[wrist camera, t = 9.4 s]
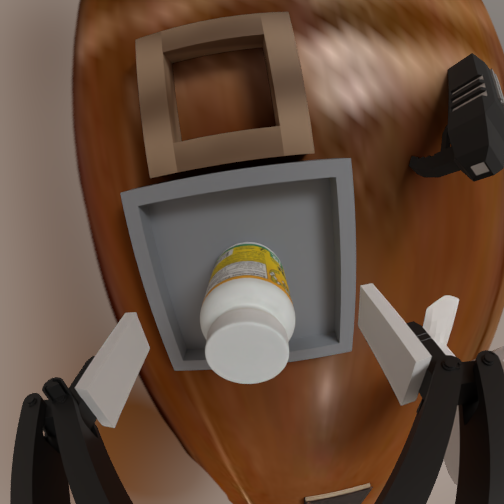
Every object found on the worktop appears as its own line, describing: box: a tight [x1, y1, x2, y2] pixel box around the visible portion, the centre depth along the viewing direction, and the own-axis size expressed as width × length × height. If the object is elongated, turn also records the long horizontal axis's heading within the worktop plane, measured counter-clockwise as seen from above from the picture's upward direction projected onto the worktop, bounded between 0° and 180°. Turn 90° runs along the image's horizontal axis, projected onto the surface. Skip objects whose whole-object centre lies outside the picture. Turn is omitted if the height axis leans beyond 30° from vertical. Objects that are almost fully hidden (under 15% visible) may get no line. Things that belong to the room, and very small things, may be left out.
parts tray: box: [120, 158, 356, 371], centre depth 21 cm, size 16×16×2 cm
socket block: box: [135, 12, 314, 178], centre depth 16 cm, size 11×11×2 cm
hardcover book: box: [304, 483, 373, 504], centre depth 43 cm, size 16×23×2 cm
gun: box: [409, 53, 504, 181], centre depth 15 cm, size 3×16×10 cm, turn 147°
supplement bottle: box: [200, 242, 295, 384], centre depth 17 cm, size 5×5×10 cm
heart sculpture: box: [423, 296, 504, 485], centre depth 17 cm, size 16×5×18 cm, turn 7°
